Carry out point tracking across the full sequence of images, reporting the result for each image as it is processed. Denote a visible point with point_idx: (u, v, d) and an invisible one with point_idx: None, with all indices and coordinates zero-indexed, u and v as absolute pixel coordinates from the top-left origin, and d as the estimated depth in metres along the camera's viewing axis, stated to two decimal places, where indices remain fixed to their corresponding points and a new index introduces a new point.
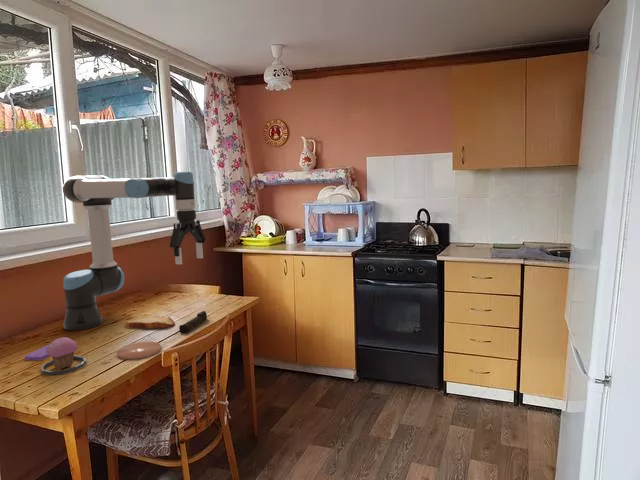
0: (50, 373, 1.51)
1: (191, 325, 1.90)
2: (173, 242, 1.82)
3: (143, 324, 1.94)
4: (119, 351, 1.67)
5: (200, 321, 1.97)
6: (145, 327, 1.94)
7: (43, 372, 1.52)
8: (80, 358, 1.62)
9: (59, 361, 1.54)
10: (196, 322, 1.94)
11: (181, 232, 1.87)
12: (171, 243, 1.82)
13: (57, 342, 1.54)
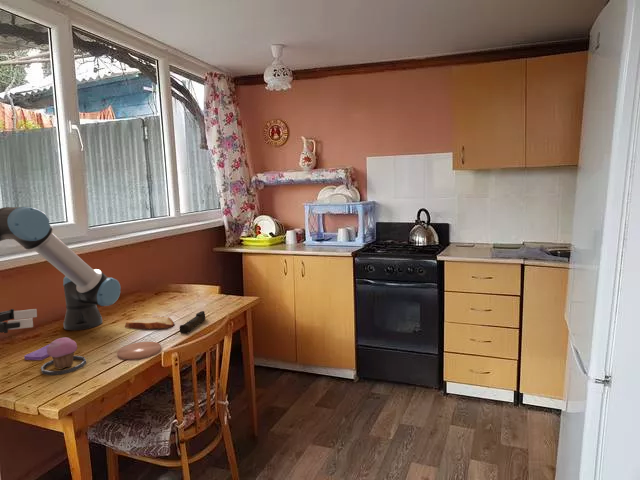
0: (50, 373, 1.51)
1: (191, 325, 1.90)
2: None
3: (143, 324, 1.94)
4: (119, 351, 1.67)
5: (199, 321, 1.98)
6: (144, 327, 1.94)
7: (43, 372, 1.52)
8: (80, 358, 1.62)
9: (59, 361, 1.54)
10: (196, 322, 1.94)
11: None
12: None
13: (57, 342, 1.54)
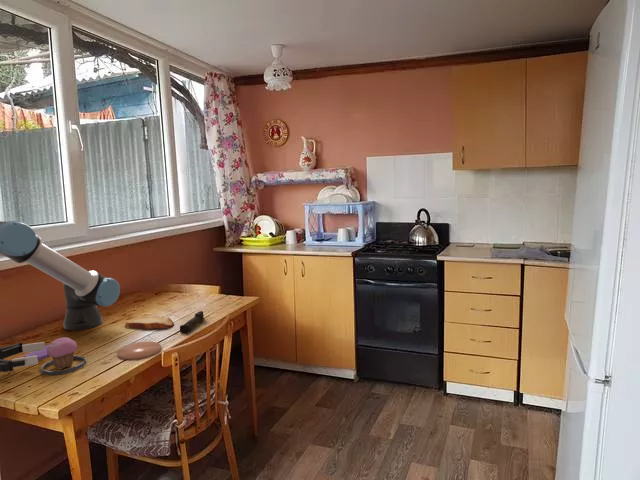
0: (50, 373, 1.51)
1: (191, 325, 1.90)
2: None
3: (142, 324, 1.94)
4: (119, 351, 1.67)
5: (199, 321, 1.98)
6: (144, 327, 1.94)
7: (43, 372, 1.52)
8: (80, 358, 1.62)
9: (59, 361, 1.54)
10: (195, 322, 1.94)
11: None
12: None
13: (57, 342, 1.54)
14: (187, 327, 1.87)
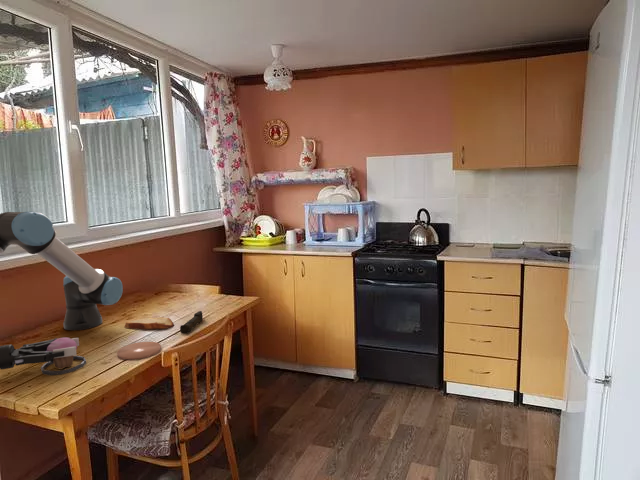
0: (50, 373, 1.51)
1: (191, 325, 1.90)
2: None
3: (142, 325, 1.94)
4: (119, 351, 1.67)
5: (198, 321, 1.98)
6: (144, 328, 1.93)
7: (43, 372, 1.52)
8: (80, 358, 1.62)
9: (59, 361, 1.54)
10: (195, 322, 1.94)
11: None
12: None
13: (57, 342, 1.54)
14: (187, 327, 1.87)
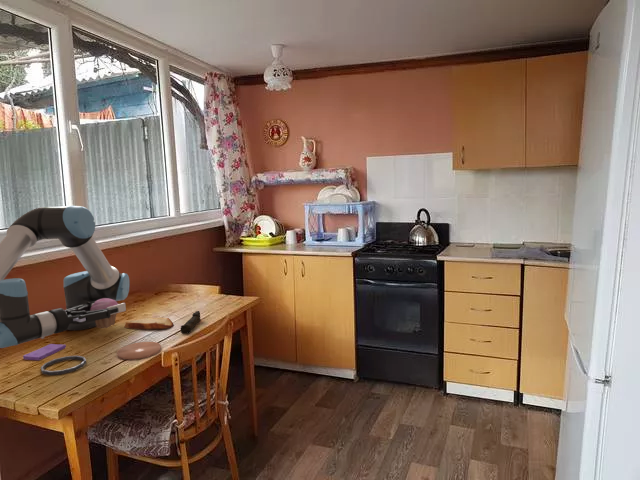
0: (50, 373, 1.51)
1: (191, 325, 1.90)
2: None
3: (141, 325, 1.94)
4: (119, 351, 1.67)
5: (197, 321, 1.98)
6: (143, 328, 1.93)
7: (43, 372, 1.52)
8: (80, 358, 1.62)
9: (108, 319, 1.58)
10: (194, 322, 1.94)
11: None
12: None
13: (104, 301, 1.58)
14: (188, 327, 1.87)
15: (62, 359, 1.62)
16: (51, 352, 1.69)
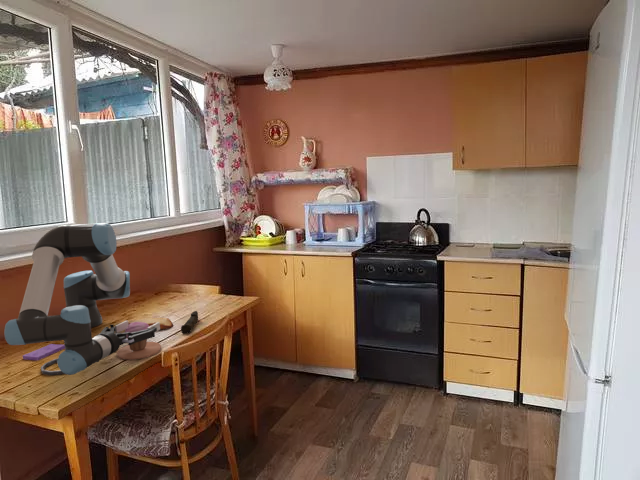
0: (50, 373, 1.51)
1: (191, 325, 1.90)
2: None
3: None
4: (119, 351, 1.67)
5: (195, 321, 1.98)
6: None
7: (43, 372, 1.52)
8: None
9: (144, 341, 1.67)
10: (194, 322, 1.95)
11: None
12: None
13: (140, 324, 1.66)
14: (189, 327, 1.87)
15: None
16: (50, 352, 1.69)
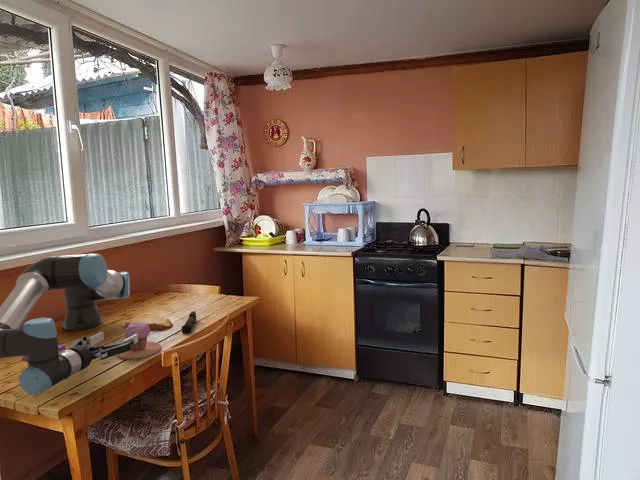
0: None
1: (191, 325, 1.91)
2: None
3: None
4: None
5: (194, 321, 1.98)
6: None
7: None
8: None
9: (144, 342, 1.67)
10: (193, 322, 1.95)
11: None
12: None
13: (139, 325, 1.66)
14: (190, 327, 1.87)
15: None
16: None
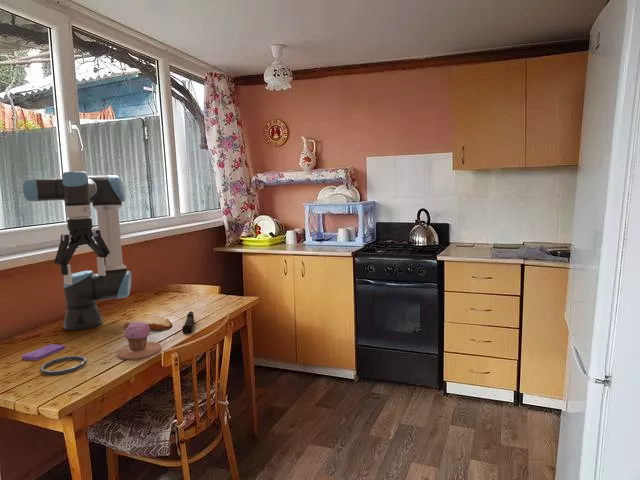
0: (50, 373, 1.51)
1: (191, 325, 1.91)
2: (58, 258, 1.49)
3: None
4: (119, 351, 1.67)
5: (193, 321, 1.98)
6: None
7: (43, 372, 1.52)
8: (80, 358, 1.62)
9: (144, 342, 1.67)
10: (192, 322, 1.95)
11: (72, 245, 1.53)
12: (56, 259, 1.49)
13: (139, 325, 1.66)
14: (190, 327, 1.87)
15: (62, 359, 1.62)
16: (50, 352, 1.69)
